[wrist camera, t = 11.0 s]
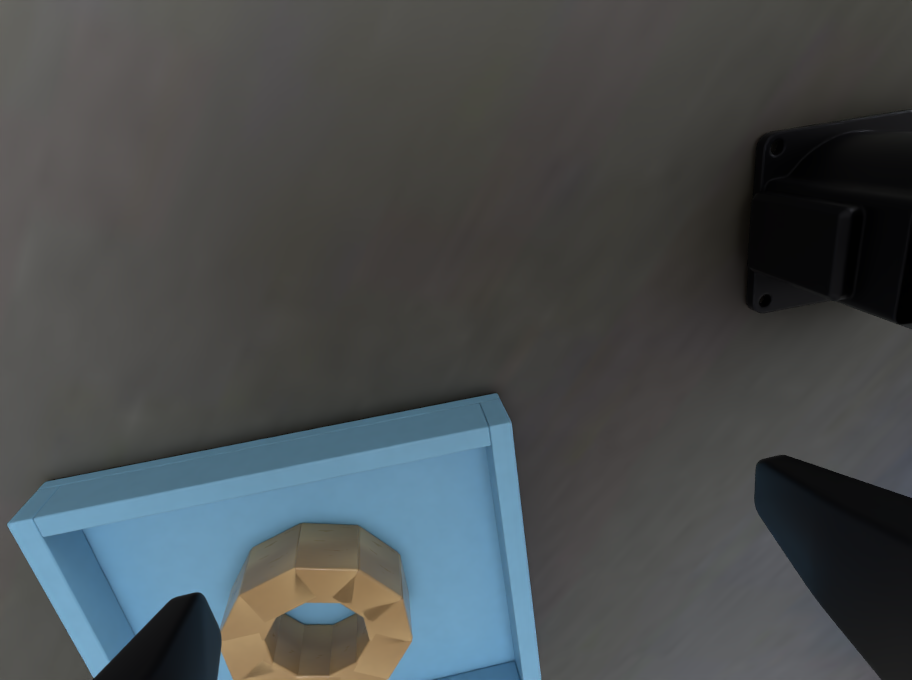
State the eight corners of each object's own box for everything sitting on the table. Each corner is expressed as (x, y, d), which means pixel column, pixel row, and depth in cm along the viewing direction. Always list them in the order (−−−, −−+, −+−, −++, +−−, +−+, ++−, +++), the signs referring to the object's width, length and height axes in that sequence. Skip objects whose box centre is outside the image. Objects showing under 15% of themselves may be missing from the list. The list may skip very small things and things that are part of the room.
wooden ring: (388, 504, 22) (391, 547, 19) (418, 633, 24) (423, 684, 22) (212, 541, 21) (193, 590, 19) (262, 669, 24) (251, 726, 21)
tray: (497, 392, 21) (512, 421, 19) (530, 658, 27) (544, 704, 24) (44, 481, 20) (5, 524, 17) (178, 742, 25) (161, 799, 23)
